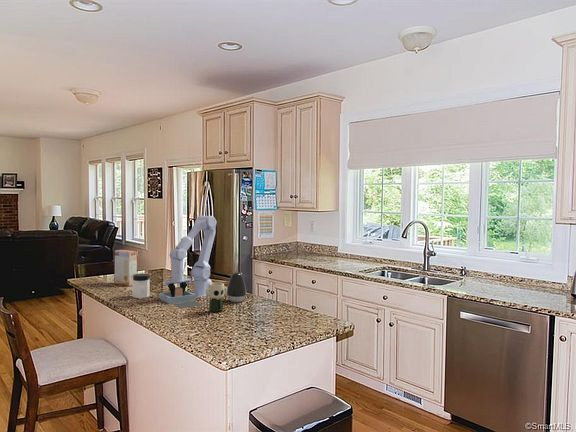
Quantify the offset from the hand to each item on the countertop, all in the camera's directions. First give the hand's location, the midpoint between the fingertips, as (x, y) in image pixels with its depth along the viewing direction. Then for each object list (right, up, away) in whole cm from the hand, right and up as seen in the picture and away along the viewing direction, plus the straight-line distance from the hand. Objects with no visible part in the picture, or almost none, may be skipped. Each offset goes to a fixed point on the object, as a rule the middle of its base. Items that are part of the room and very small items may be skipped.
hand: (177, 297), depth 223 cm
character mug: (+24, -3, -20) cm, 31 cm away
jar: (-21, -1, +7) cm, 22 cm away
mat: (+8, -2, -10) cm, 13 cm away
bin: (0, -2, 0) cm, 2 cm away
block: (0, -1, 0) cm, 1 cm away
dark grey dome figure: (+31, -2, +1) cm, 31 cm away
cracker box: (-42, 0, +39) cm, 57 cm away
